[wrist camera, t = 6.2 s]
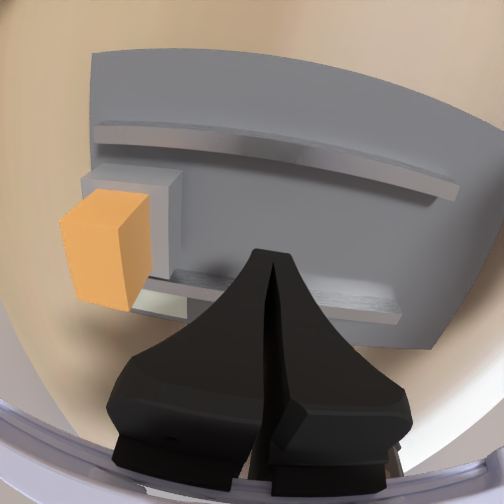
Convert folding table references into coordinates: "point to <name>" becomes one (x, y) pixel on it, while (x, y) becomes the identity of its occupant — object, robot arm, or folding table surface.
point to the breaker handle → (123, 232)
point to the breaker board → (307, 183)
